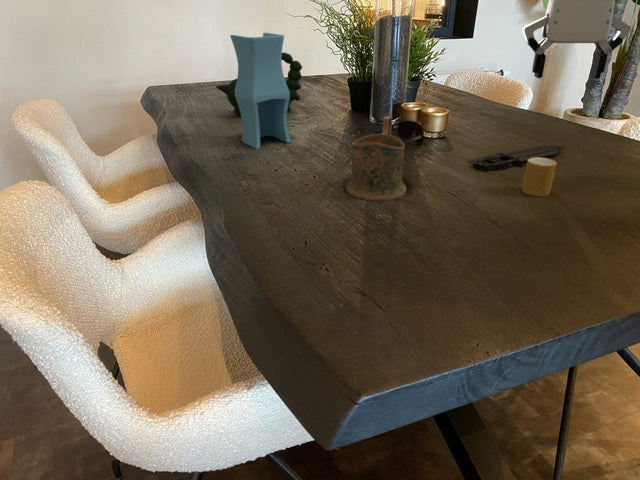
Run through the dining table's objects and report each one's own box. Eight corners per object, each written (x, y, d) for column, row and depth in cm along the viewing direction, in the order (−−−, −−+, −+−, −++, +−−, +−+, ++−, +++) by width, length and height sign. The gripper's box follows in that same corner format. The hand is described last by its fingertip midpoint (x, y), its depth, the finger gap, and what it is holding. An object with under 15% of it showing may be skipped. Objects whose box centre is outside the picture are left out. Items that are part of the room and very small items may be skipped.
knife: (553, 150, 116) (555, 144, 115) (575, 158, 111) (577, 152, 110) (466, 164, 108) (467, 158, 107) (485, 173, 102) (486, 166, 102)
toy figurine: (296, 114, 156) (216, 111, 151) (300, 51, 147) (216, 46, 143) (300, 122, 148) (216, 118, 143) (304, 55, 139) (215, 49, 134)
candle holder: (546, 187, 95) (553, 157, 92) (552, 197, 91) (559, 166, 88) (519, 186, 96) (525, 156, 93) (524, 195, 92) (530, 164, 89)
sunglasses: (429, 146, 119) (429, 126, 116) (389, 160, 115) (388, 139, 112) (403, 135, 127) (402, 117, 125) (365, 148, 123) (363, 129, 120)
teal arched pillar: (272, 133, 130) (266, 32, 119) (291, 142, 123) (287, 35, 112) (238, 139, 126) (229, 35, 114) (256, 149, 118) (248, 38, 107)
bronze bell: (413, 172, 103) (418, 115, 98) (401, 204, 89) (406, 139, 83) (360, 167, 106) (361, 111, 101) (339, 197, 91) (340, 134, 86)
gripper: (635, -32, 82) (610, 74, 90) (528, -29, 85) (512, 73, 93) (655, -34, 76) (625, 81, 84) (538, -31, 78) (520, 80, 86)
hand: (566, 77), depth 88 cm, fingers open, 9 cm apart
